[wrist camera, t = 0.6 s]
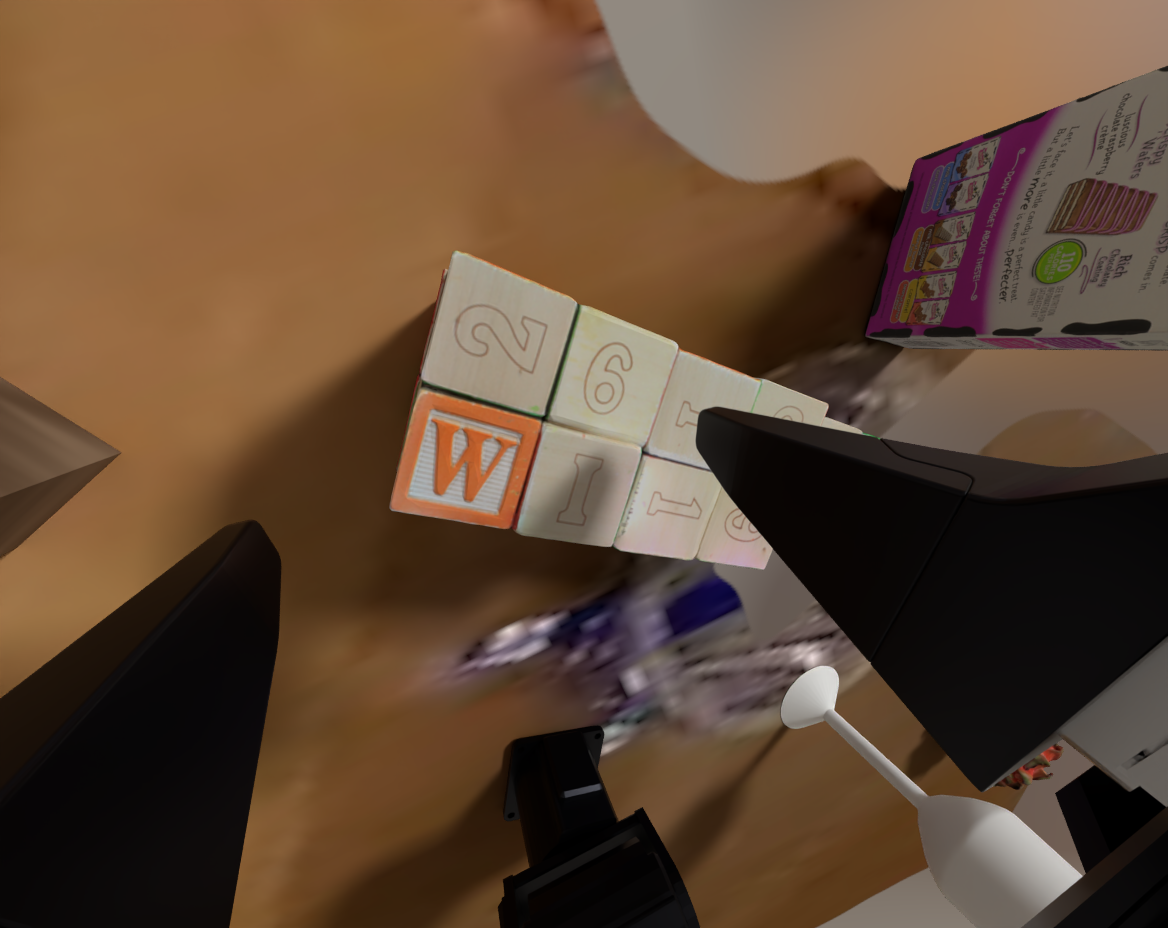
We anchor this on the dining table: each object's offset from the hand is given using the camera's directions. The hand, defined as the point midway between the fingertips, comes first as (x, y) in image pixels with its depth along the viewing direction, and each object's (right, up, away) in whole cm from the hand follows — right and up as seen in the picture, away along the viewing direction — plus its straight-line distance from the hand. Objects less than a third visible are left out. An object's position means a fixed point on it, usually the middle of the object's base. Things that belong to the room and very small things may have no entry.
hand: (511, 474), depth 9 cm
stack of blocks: (+3, +3, +16) cm, 17 cm away
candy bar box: (+24, +14, +20) cm, 34 cm away
